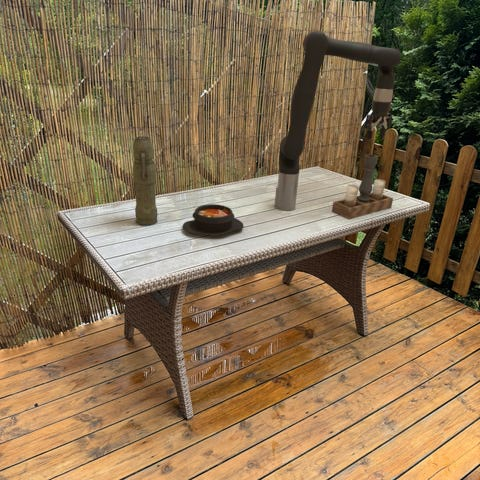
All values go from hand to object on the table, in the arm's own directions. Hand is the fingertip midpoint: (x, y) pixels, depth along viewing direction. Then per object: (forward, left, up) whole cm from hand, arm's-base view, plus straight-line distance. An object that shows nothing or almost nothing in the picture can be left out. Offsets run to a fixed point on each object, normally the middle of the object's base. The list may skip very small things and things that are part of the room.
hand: (375, 138), depth 187 cm
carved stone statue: (-80, -60, -34) cm, 106 cm away
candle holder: (0, 0, -33) cm, 33 cm away
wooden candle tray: (0, 0, -34) cm, 34 cm away
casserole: (-52, -54, -34) cm, 83 cm away
